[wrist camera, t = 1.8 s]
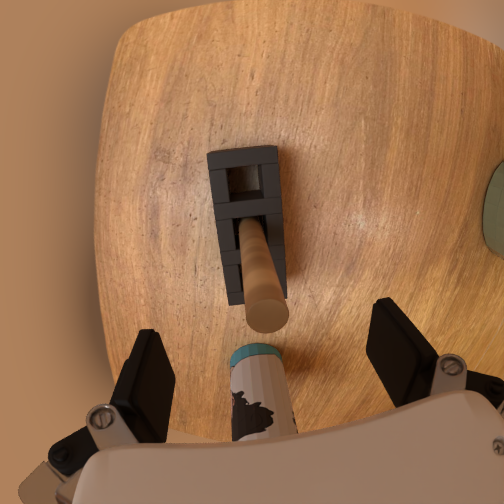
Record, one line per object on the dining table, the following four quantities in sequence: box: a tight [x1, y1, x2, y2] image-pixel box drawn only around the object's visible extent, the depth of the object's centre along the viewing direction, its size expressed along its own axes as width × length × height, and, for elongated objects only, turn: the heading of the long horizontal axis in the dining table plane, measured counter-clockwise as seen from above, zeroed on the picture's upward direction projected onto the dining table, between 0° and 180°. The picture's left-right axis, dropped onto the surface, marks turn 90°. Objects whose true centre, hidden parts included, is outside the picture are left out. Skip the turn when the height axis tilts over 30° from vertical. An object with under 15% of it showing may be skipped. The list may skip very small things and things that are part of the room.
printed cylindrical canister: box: [230, 343, 298, 442], centre depth 28 cm, size 7×7×15 cm
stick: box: [238, 216, 289, 333], centre depth 20 cm, size 2×2×16 cm
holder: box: [207, 145, 287, 306], centre depth 26 cm, size 14×6×4 cm, turn 5°
